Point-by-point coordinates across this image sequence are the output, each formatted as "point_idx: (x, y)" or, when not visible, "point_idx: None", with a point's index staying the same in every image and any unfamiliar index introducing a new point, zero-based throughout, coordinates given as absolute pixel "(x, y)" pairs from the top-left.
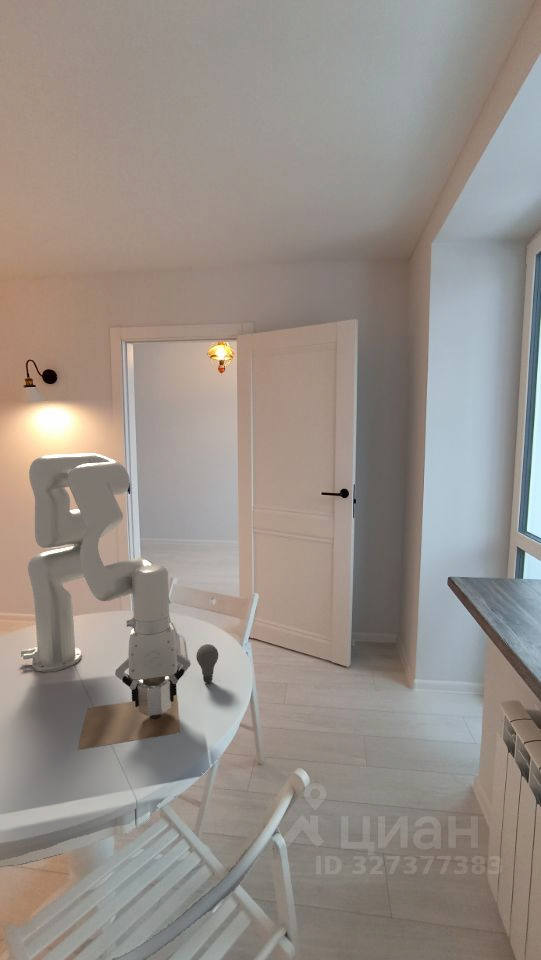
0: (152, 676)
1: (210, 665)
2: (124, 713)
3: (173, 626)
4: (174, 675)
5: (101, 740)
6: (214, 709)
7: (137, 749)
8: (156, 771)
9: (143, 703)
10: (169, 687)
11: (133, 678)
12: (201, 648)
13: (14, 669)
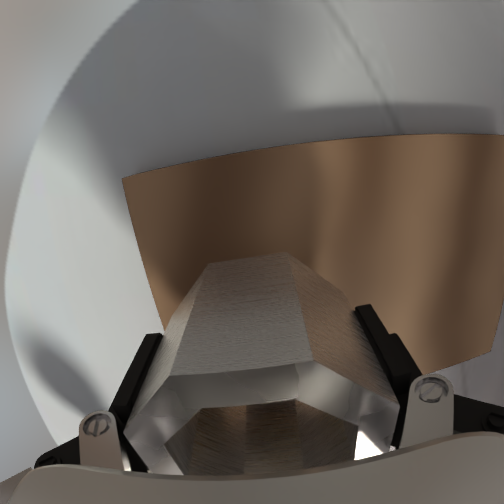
0: (255, 493)
1: None
2: (393, 328)
3: None
4: (81, 461)
5: (461, 167)
6: (62, 332)
7: (310, 124)
8: (205, 2)
9: (326, 302)
10: (139, 394)
11: (485, 439)
12: None
13: None
